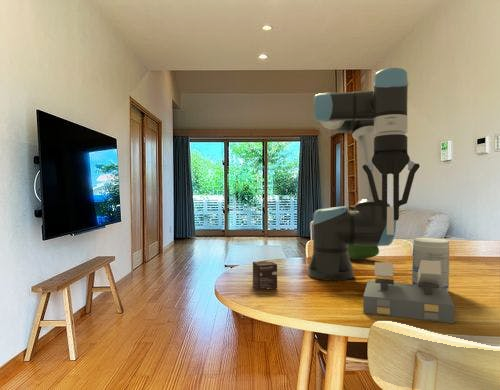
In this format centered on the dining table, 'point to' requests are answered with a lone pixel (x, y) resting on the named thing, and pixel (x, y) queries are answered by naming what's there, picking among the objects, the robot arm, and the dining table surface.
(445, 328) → the dining table surface
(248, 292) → the dining table surface
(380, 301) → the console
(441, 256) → the supplement tub
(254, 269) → the box
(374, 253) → the fruit
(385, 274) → the switch left
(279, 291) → the dining table surface
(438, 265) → the switch right
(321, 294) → the dining table surface
